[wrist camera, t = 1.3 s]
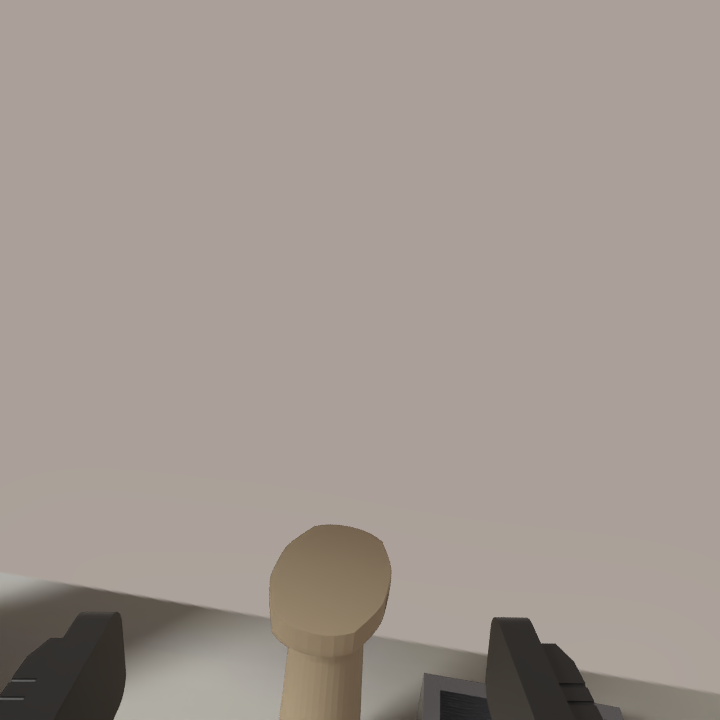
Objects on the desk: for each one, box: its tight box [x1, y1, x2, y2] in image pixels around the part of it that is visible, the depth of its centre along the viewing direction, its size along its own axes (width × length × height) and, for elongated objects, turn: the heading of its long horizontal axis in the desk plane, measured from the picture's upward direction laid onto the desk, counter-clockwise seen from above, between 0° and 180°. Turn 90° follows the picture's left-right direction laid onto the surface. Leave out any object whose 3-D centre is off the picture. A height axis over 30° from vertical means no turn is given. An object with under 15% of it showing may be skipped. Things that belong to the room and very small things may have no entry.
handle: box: [269, 525, 391, 720], centre depth 27 cm, size 5×6×15 cm
